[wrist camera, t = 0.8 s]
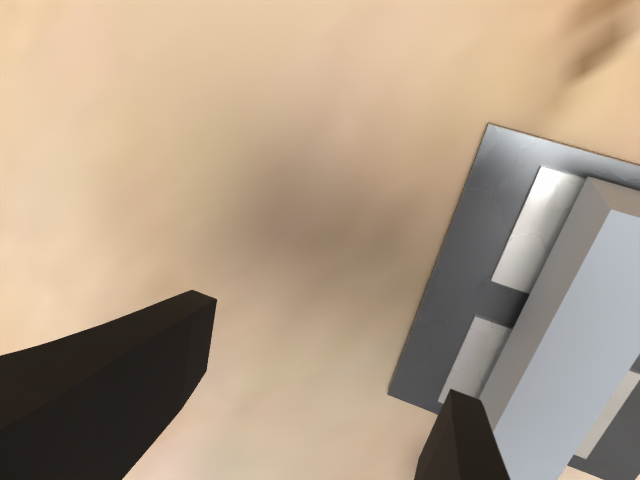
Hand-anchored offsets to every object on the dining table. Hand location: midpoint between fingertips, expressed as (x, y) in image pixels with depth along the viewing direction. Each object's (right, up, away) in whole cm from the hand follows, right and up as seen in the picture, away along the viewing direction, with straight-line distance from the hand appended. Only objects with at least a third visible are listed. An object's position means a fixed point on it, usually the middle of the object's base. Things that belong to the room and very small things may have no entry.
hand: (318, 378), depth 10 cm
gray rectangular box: (+8, -1, +7) cm, 11 cm away
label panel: (+9, 0, +8) cm, 12 cm away
